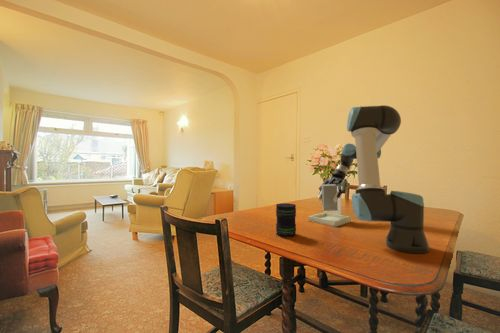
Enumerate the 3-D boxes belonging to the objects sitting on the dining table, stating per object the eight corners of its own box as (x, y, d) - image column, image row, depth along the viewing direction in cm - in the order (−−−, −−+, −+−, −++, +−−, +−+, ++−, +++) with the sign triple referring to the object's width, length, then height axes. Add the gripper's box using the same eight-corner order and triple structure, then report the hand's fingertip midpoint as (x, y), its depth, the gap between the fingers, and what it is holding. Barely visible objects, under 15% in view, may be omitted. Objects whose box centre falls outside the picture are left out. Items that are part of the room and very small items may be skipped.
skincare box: (335, 209, 150) (334, 183, 150) (338, 211, 143) (337, 184, 142) (321, 209, 151) (321, 183, 150) (323, 211, 143) (323, 184, 143)
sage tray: (334, 226, 134) (334, 221, 134) (308, 221, 147) (308, 216, 147) (350, 221, 145) (350, 216, 145) (324, 216, 159) (324, 212, 159)
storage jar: (282, 230, 126) (282, 202, 126) (299, 234, 120) (299, 204, 120) (272, 235, 118) (272, 205, 118) (289, 239, 112) (289, 207, 112)
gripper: (359, 178, 148) (346, 206, 138) (326, 176, 165) (313, 201, 155) (355, 169, 144) (341, 198, 134) (322, 169, 161) (308, 194, 151)
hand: (326, 200), depth 144 cm, fingers closed on skincare box, 10 cm apart
